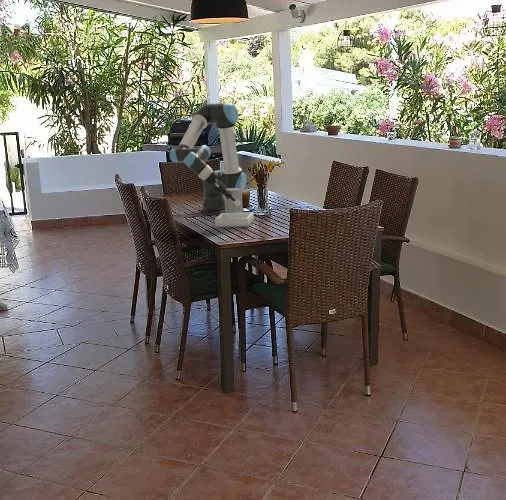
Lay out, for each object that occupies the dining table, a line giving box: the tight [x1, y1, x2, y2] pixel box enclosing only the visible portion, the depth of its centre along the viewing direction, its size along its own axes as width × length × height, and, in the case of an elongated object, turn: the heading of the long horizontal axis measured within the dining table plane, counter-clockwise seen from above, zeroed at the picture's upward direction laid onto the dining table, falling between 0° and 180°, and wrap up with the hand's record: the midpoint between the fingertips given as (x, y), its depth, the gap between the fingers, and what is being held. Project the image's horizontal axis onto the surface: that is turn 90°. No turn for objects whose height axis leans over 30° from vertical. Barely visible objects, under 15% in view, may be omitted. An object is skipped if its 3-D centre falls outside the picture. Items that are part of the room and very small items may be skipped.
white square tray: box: [214, 211, 255, 228], centre depth 385 cm, size 18×18×4 cm
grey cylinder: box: [224, 188, 244, 213], centre depth 382 cm, size 10×10×12 cm
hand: (239, 203), depth 383 cm, fingers closed on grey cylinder, 9 cm apart
